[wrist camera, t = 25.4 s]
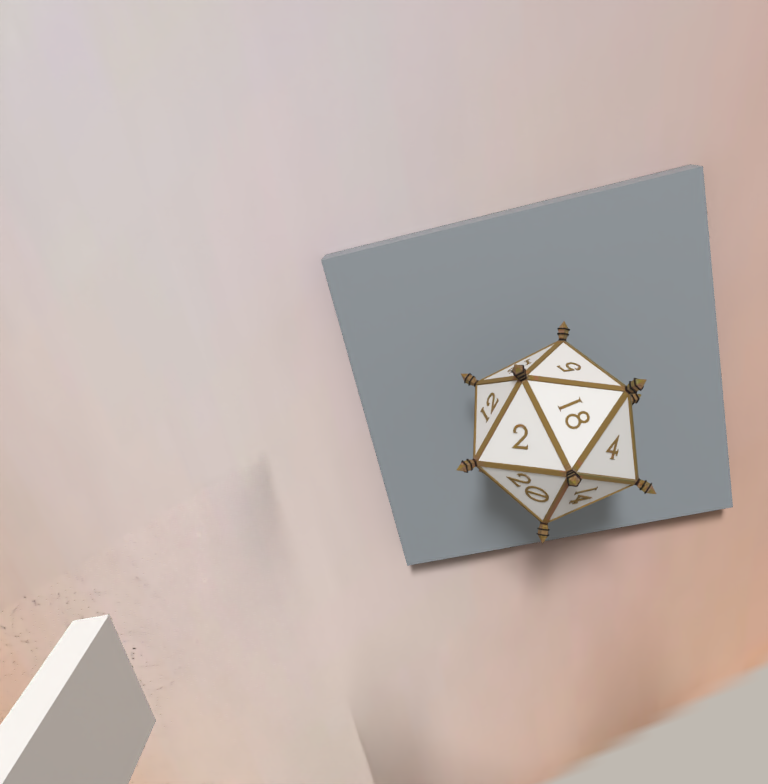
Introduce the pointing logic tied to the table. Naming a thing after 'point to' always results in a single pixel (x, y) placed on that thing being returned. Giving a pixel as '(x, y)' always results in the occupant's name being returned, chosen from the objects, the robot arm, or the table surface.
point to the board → (529, 334)
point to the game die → (555, 431)
